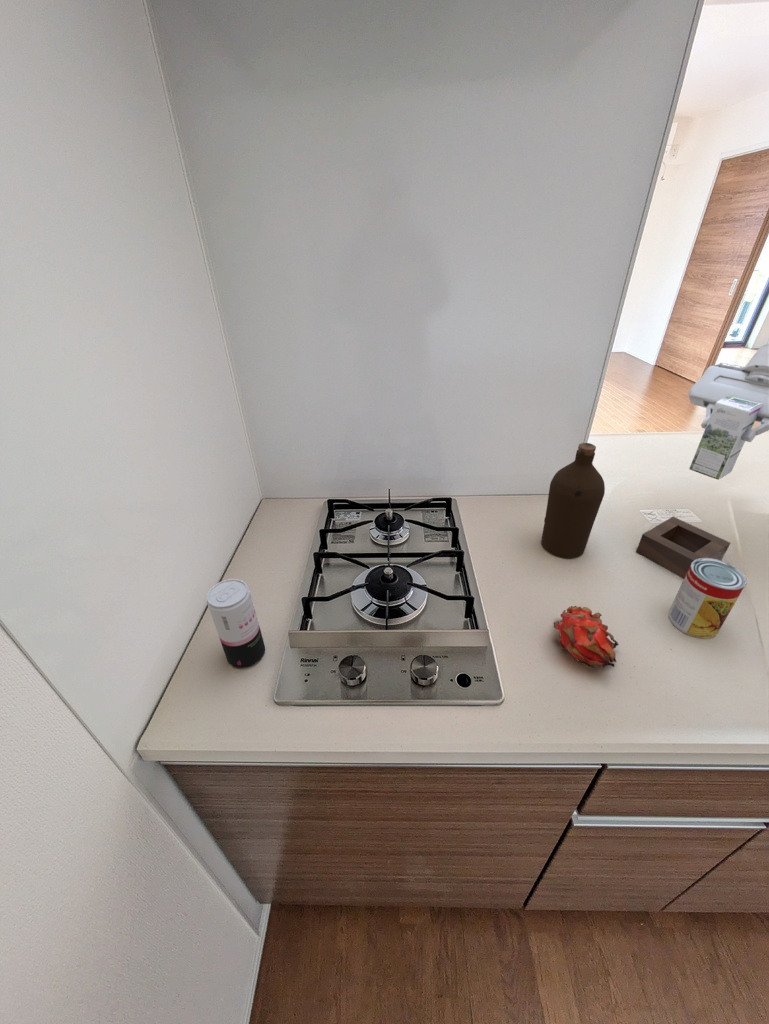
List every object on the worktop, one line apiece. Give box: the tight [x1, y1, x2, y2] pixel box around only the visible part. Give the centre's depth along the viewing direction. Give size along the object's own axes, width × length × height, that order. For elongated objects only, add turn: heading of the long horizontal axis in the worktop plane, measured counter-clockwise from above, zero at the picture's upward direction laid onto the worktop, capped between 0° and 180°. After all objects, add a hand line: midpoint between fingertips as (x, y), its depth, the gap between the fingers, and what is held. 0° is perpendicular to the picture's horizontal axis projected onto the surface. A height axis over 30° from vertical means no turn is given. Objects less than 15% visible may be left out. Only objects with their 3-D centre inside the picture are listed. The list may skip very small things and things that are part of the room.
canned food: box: [667, 558, 748, 639], centre depth 77 cm, size 8×8×12 cm
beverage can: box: [206, 578, 266, 669], centre depth 73 cm, size 7×6×15 cm
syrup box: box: [688, 396, 762, 481], centre depth 84 cm, size 6×6×14 cm
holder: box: [635, 516, 731, 579], centre depth 94 cm, size 12×12×5 cm
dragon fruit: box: [553, 605, 620, 669], centre depth 73 cm, size 8×8×12 cm
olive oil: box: [540, 442, 606, 559], centre depth 93 cm, size 11×11×25 cm
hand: (725, 433), depth 83 cm, fingers closed on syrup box, 6 cm apart
